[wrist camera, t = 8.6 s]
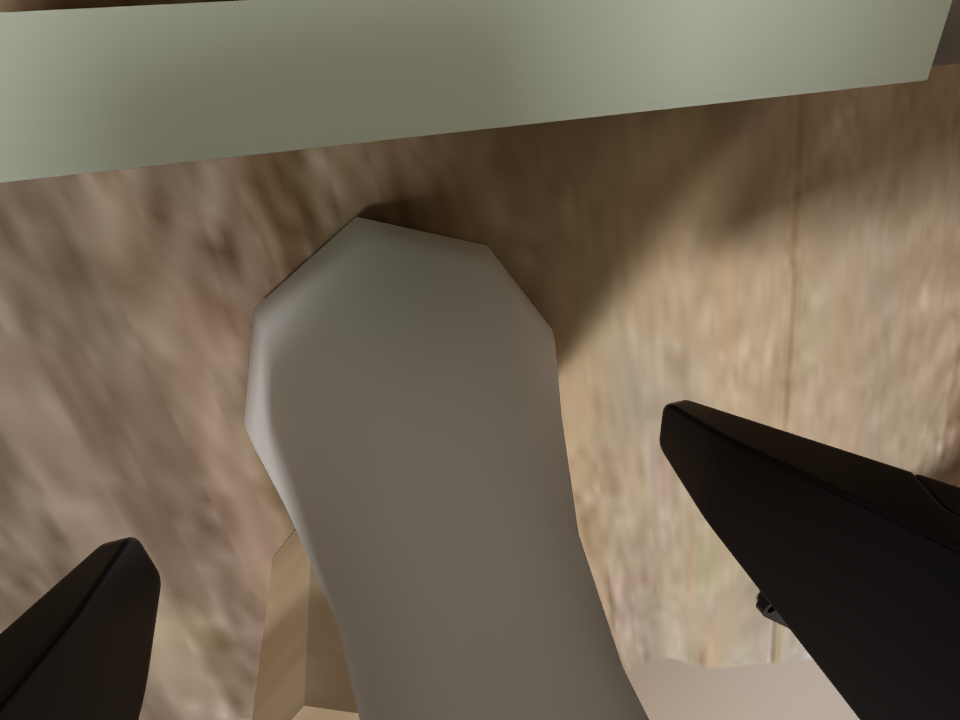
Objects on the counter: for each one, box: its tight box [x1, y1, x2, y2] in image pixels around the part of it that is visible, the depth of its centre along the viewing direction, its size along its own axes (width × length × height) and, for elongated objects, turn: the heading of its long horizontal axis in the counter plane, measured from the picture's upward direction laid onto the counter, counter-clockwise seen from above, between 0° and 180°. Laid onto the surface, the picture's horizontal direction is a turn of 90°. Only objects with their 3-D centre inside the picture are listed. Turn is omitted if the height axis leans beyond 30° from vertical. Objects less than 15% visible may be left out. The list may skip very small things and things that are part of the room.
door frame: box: [252, 0, 960, 720], centre depth 10 cm, size 2×19×5 cm, turn 139°
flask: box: [244, 217, 649, 720], centre depth 8 cm, size 7×7×10 cm
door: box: [0, 0, 952, 183], centre depth 6 cm, size 2×13×5 cm, turn 95°
